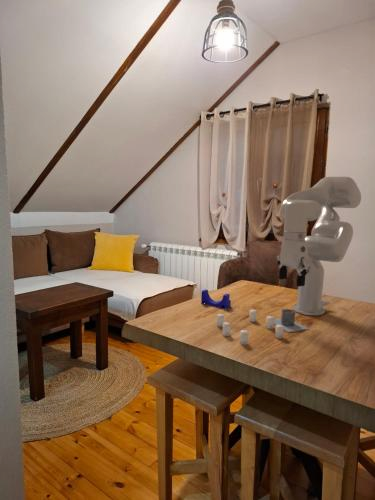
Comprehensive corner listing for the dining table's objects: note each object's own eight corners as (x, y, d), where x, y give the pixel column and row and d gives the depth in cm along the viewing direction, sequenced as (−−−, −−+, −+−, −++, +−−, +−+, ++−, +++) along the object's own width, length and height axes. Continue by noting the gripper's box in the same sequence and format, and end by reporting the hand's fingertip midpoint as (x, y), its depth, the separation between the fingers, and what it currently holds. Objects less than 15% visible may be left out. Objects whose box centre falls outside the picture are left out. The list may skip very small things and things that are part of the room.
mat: (286, 318, 136) (286, 317, 136) (308, 329, 125) (308, 328, 125) (267, 320, 132) (267, 319, 132) (288, 332, 122) (288, 331, 121)
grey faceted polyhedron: (288, 321, 132) (289, 308, 131) (296, 325, 128) (297, 312, 127) (278, 322, 130) (279, 310, 129) (285, 327, 126) (286, 313, 125)
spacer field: (257, 318, 135) (258, 308, 134) (289, 337, 118) (290, 326, 117) (210, 325, 127) (211, 314, 126) (237, 346, 110) (237, 334, 109)
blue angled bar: (230, 306, 149) (231, 293, 148) (225, 309, 145) (226, 295, 144) (206, 301, 155) (206, 288, 154) (201, 304, 151) (201, 290, 150)
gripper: (320, 239, 117) (316, 287, 120) (287, 232, 133) (284, 275, 136) (302, 240, 114) (299, 290, 117) (270, 233, 130) (268, 277, 133)
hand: (291, 282), depth 127 cm, fingers open, 9 cm apart
